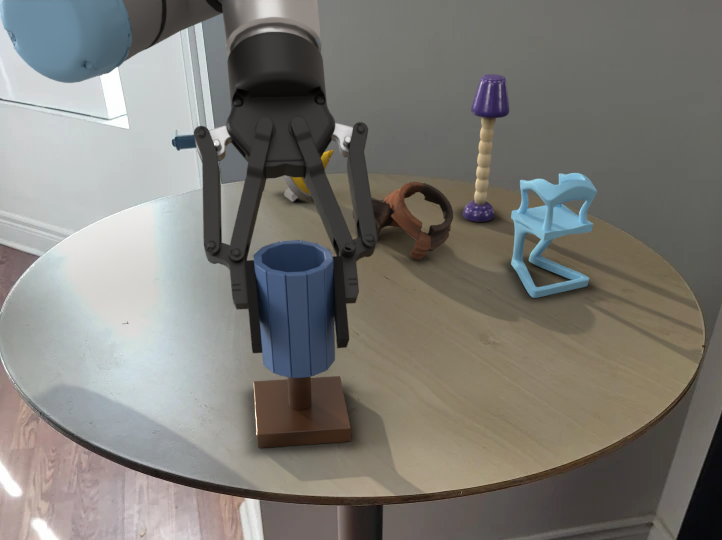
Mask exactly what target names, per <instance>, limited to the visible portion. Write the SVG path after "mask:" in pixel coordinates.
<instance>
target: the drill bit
mask: <svg viewBox="0 0 722 540" xmlns="http://www.w3.org/2000/svg"><path fill="white" fill-rule="evenodd" d="M334 152H335V149H330V150H327V151H325V152H324V153H323V155H322V156H321V160H322V163H323V166H324V170H326V168H327V166H328V164H329V162H330V159H331V158H332V156H333V154H334ZM282 177H283V181H284V182H285V184H286V186H287V188H286V189H284V194H283V196H284V197H286V198H287V199H288V200H289V201H290V202H292V203H294V202H295V201H296V200H297V199H298V198H299V199H301V200H303V201H310V200H311V199H313V198H312V196H311V193H310V191H309V190H308V189H307V187H306V185H305V182H304V180H303V177H296V178H295V177H290V176H286V175H284V176H282Z"/></svg>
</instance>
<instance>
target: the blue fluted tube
mask: <svg viewBox="0 0 722 540" xmlns="http://www.w3.org/2000/svg"><path fill="white" fill-rule="evenodd" d="M253 260H254V266H255V274H256V286H257V297H258V308H259V319H260V331H261V343H262V353H261V354H262V365H263V366H264V367H265V368H266V369H267V370H268V371H270V372H271V373H272V374H274V375H276V376H277V375H278V376H280V377H285V378H287V377H289V378H303V377H311V378H312V377H314V376H317V375H320V374H322V373H324V372H326V371H328V370H329V369H330V368H331V367H332V366H333V364H334V363H335V361H336V329H335V318H334V276H333V269H334V263H333V252H332V250H330V249H329V248H327V247H325V246H324V245H322V244H320V243H317V242H312V241H309V240H308V241H307V240H303V239H302V240H301V239H293V240H281V241H275V242H272V243H269V244H266V245H264V246H262V247H261V248H259V249H258V250H256V252H254V254H253Z"/></svg>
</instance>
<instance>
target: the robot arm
mask: <svg viewBox="0 0 722 540" xmlns="http://www.w3.org/2000/svg"><path fill="white" fill-rule="evenodd" d="M319 14H320V13H319V4H318V0H0V20H1V22H2V25H3V26H2V27H3V29H4V30H5V31H6V33H7V35H8V37H9V40H10V41H11V43H12V45H13V49H14V50H15V52H16V54H17V55H18V56H19V57H20V58H21V60H23V62H24V63H26V64H27V65H28V66H29V67H30V68H31V69H32V70H34V71H35V72H36V73H38V74H40V75H42V76H43V77H45V78H47V79H50V80H53V81H56V82H58V83H62V84H63V83H64V84H74V83H80V82H83V81H87V80H90V79H93V78H96V77H99V76H103V75H106V74H110V73H112V71H114V70H115V69H117V68H119V67H121V65H123V64H124V62H126V61H127V60H130V59H131V58H132V57H134V56H136V55H137V54H139V53H141V52H143V51H145V50H148V49H150V48H152V47H153V46H156V45H158V44H159V43H161V42H164V41H165V40H167V39H168V38H171V37H172V36H174V35H176V34H177V33H180V32H181V31H184V30H186V29H189V28H191V27H194V26H195V25H198V24H201V23H203V22H206V21H207V20H210V19H212V18H214V17H218V16H219V15H222V19H223V31H224V42H225V51H226V55H227V61H226V63H227V75H228V87H229V97H230V99H229V100H230V112H229V115H228V117H227V119H226V121H225V125H222V126H218V127H215V128H211V129H208V127H206V126H204V125H199V126H196V127H195V128H194V130H193V137H194V141H195V142H194V143H195V147H196V152H197V154H198V157H199V158H200V161H201V167H202V168H201V169H202V175H201V177H202V229H203V230H202V232H203V235H202V236H203V238H202V239H203V249H204V253H205V256H206V260H207V261H208V262H209V263H210V264H211V265H218V264H219V265H222V266H224V267H226V268H227V269H228V270H229V275H230V286H231V299H232V303H233V305H234V308H235V310H237V311H239V310H248V319H249V330H250V332H249V333H250V342H251V350H252V354H262V343H261V331H260V319H259V308H258V297H257V286H256V274H255V266H254V259H250V260H249V259H248V256H249V253H250V249H251V248H250V247H251V244H252V240H253V236H254V232H255V227H256V222H257V219H258V215H259V209H260V206H261V201H262V197H263V193H264V191H265V187H266V182H267V179H277V178H281V177H283V176H284V175H286V176H290V177H295V178H296V177H303V180H304V182H305V185H306V187H307V189H308V190H309V191H310V193H311V196H312V198H311V199H312V200H313V204H314V206H315V208H316V210H317V212H318V215H319V217H320V220H321V222H322V225H323V227H324V229H325V233H326V234H327V238H328V239H329V242H330V244H331V247H332V249H333V251H334V254H335V255H334V256H333V255H332V256H333V263H334V269H333V276H334V327H335V341H336V348H337V349H346V348H348V345H349V341H350V330H349V320H348V319H349V318H348V308H347V305H349V304H356V302H357V299H358V296H359V293H360V289H359V286H360V285H359V277H358V276H359V275H358V267H357V262H358V261H359V260H361V259H363V258H370V257H371V256H373V254H374V252H375V249H376V247H377V244H378V242H379V239H378V236H377V230H376V224H375V217H374V211H373V205H372V198H373V197H372V194H371V193H372V191H371V187H370V180H369V174H368V168H367V161H366V155H365V149H366V146H367V145H366V144H367V140H368V133H369V127H368V125H367V124H366V123H365V122H362V121H358V122H356V123H355V124H354V125H353V126H351V125H348V124H347V125H346V124H342V123H340V122H339V123H338V122H336V120H335V118H334V116H333V114H332V113H331V111H330V110H329V107H328V102H327V91H326V89H327V88H326V79H325V68H324V59H323V55H322V53H321V52H322V46H323V45H322V34H321V24H320V15H319ZM332 141H333V142H335V143H336V144H337V146H338V151H339V154H340V155H341V156H342V157H343V158H347V159H346V174H347V181H348V186H349V194H350V199H351V205H352V214H353V213H354V218H353V220H354V219H355V220H354V224H355V225H354V226H355V230H356V237H355V238H353V237H352V234H351V232H350V230H349V226H348V224H347V222H346V219H345V217H344V214H343V212H342V210H341V208H340V205H339V202H338V200H337V198H336V196H335V193H334V191H333V188H332V186H331V183H330V181H329V178H328V176H327V174H326V172H325V170H326V169H325V170H324V166H323V163H322V160H321V156H322V155H323V153H324V152H326V150H327V149H328V148H329V145H330V144H331V142H332ZM229 144H231V145H233V147H234V148H235V149H236V150H237V152H238V153H239V154H240V155H241V156H242V158H244V159H245V161H246V162H247V167H246V174H245V180H244V184H243V188H242V191H241V196H240V199H239V200H240V201H239V205H238V209H237V213H236V218H235V221H234V226H233V230H232V234H231V239H230V243H229V244H228V243H224V242H223V232H222V229H223V228H222V177H221V176H222V175H221V168H220V162H221V161H223V160H224V159H225V158H226V155H227V146H228V145H229ZM377 241H378V242H377Z"/></svg>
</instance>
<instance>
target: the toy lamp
mask: <svg viewBox="0 0 722 540" xmlns="http://www.w3.org/2000/svg"><path fill="white" fill-rule="evenodd" d="M507 84H508V83H507V79H506V77H505V76H504V75H502V74H495V73H494V74H493V73H490V74H489V73H488V74H483V75H482V76H481V77H480V79H479V82H478V86H477V88H476V91H475V95H474V98H473V100H472V104H471V107H470V112H471V114H472V115H474V116H476V117H478V118H479V117H480V118H481V121H480V123H481V128H480V132H479V138H480V141H479V143H478V152H479V153H478V155H477V158H476V159H477V160H476V162H477V165H478V166H477V167H476V170H475V171H476V172H475V174H476V179H475V185H474V187H475V192H474V196H473V198H474V200H470V201H469V202H468V203H467V204H466V205H465V206H464V208H463V211H462V217H463V218H464V219H466V220H467V221H471V222H476V223H484V222H489V221H492V220H493V219H494V218H495V215H496V213H495V209H494V207H493V205H492V204H491V203H490V202H488V196H489V195H488V189H489V187H490V186H489V185H490V180H489V177H490V175H491V167H490V165H491V163H492V162H491V161H492V154H491V153H492V152H493V151H492V150H493V144H494V143H493V139H494V136H495V129H494V127H495V124H496V120H497V119H498V118H499V119H500V118H501V119H502V118H505V117H507V116H508V115H509V114H510V101H509V100H510V99H509V93H508V92H509V91H508V85H507Z"/></svg>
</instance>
